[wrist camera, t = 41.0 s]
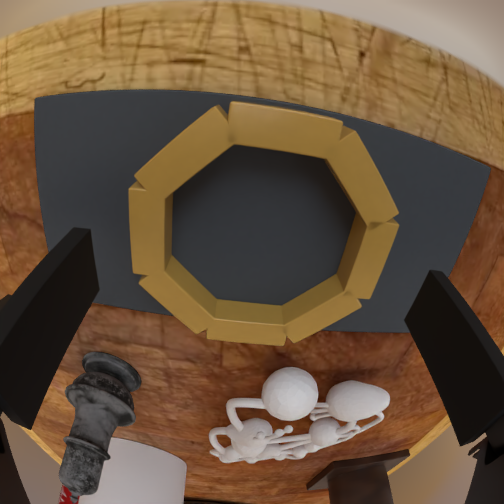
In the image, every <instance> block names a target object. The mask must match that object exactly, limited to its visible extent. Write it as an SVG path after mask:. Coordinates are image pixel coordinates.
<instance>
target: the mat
mask: <svg viewBox="0 0 504 504" xmlns="http://www.w3.org/2000/svg"><path fill="white" fill-rule="evenodd" d="M234 100H235V101H244V102H251V103H259V104H265V105H272V106H278V107H284V108H290V109H295V110H300V111H305V112H310V113H315V114H320V115H324V116H329V117H333V118H335V119H338V120H341V121H342V122H343V126H346V127H348V128H350V129H353V130H355V131H356V132H357V134H358V135H359V137H360V139H361V140H362V142H363V144H364V146H365V147H366V149H367V151H368V153H369V154H370V156H371V158H372V160H373V162H374V164H375V165H376V167H377V169H378V171H379V173H380V175H381V177H382V179H383V181H384V183H385V185H386V187H387V189H388V191H389V193H390V195H391V197H392V199H393V201H394V203H395V205H396V207H397V209H398V211H399V214H398V215H396V216H395V217H393V219H394V220H395V221H396V222H397V223H398V224H399V228H398V231H397V234H396V236H395V239H394V242H393V244H392V247H391V250H390V252H389V255H388V257H387V260H386V262H385V265H384V267H383V270H382V272H381V274H380V277H379V279H378V282H377V284H376V286H375V288H374V291H373V293H372V295H371V298H370V299H359V300H360V302H361V305H362V307H361V308H359V309H358V310H356V311H354V312H353V313H351V314H349V315H347V316H345V317H344V318H342V319H340V320H338V321H336V322H335V323H333V324H331V325H329V326H327V327H325V328H324V329H322V330H325V331H349V332H397V333H410V331H409V329H408V327H407V325H406V324H405V322H404V319H405V317H406V315H407V313H408V311H409V310H410V308H411V306H412V304H413V302H414V300H415V298H416V296H417V294H418V292H419V290H420V288H421V286H422V284H423V282H424V280H425V278H426V276H427V274H428V272H429V270H436V271H442V272H443V273H444V274H445V275H446V277H447V278H448V277H449V275H450V273H451V271H452V269H453V267H454V265H455V262H456V260H457V258H458V256H459V254H460V251H461V249H462V247H463V245H464V242H465V240H466V238H467V235H468V233H469V230H470V228H471V225H472V223H473V220H474V218H475V215H476V212H477V210H478V207H479V204H480V201H481V198H482V196H483V193H484V190H485V186H486V183H487V180H488V177H489V174H490V170H491V168H490V167H488V166H486V165H484V164H482V163H480V162H478V161H476V160H474V159H472V158H469V157H467V156H465V155H462V154H460V153H458V152H455V151H453V150H451V149H448V148H446V147H443V146H441V145H438V144H436V143H433V142H430V141H428V140H425V139H422V138H420V137H417V136H414V135H411V134H408V133H405V132H402V131H399V130H396V129H393V128H390V127H387V126H383V125H380V124H377V123H373V122H370V121H366V120H363V119H359V118H355V117H352V116H348V115H344V114H340V113H336V112H331V111H327V110H323V109H318V108H313V107H309V106H304V105H299V104H293V103H288V102H282V101H276V100H270V99H263V98H256V97H249V96H241V95H232V94H223V93H212V92H199V91H183V90H106V91H90V92H77V93H67V94H58V95H50V96H43V97H38V98H35V107H34V133H35V157H36V171H37V182H38V191H39V199H40V206H41V213H42V219H43V225H44V231H45V237H46V242H47V247H48V251H49V252H50V251H51V250H52V249H53V248H54V247H55V246H56V245H57V243H58V242H59V241H60V240H61V239H62V238H63V237H64V236H65V235H66V234H67V233H68V232H69V231H70V230H71V229H72V228H73V227H78V228H87V229H91V235H92V243H93V251H94V257H95V264H96V270H97V276H98V282H99V287H100V290H99V292H98V294H97V296H96V297H95V299H94V301H93V303H99V304H104V305H109V306H115V307H120V308H126V309H132V310H138V311H144V312H150V313H157V314H164V315H171V316H174V315H173V314H172V313H170V312H169V311H168V310H167V309H166V308H165V307H164V306H163V305H161V304H160V303H159V302H158V301H157V300H156V299H155V298H154V297H153V296H151V295H150V294H149V293H148V292H147V291H146V290H145V289H144V288H143V287H142V286H141V285H139V281H140V278H141V276H142V275H140V274H134V273H133V269H132V256H131V242H130V223H129V188H130V187H131V186H132V185H133V184H134V183H135V182H136V181H137V179H136V178H135V177H134V175H135V174H136V173H137V172H138V171H139V170H140V169H141V168H142V167H143V166H144V165H145V164H146V163H147V162H148V161H149V160H150V159H152V158H153V157H154V156H155V155H156V154H157V153H158V152H159V151H160V150H162V149H163V148H164V147H165V146H166V145H167V144H168V143H169V142H171V141H172V140H173V139H174V138H175V137H176V136H178V135H179V134H180V133H181V132H182V131H184V130H185V129H186V128H187V127H188V126H190V125H191V124H192V123H193V122H194V121H196V120H197V119H198V118H199V117H201V116H202V115H203V114H205V113H206V112H207V111H208V110H210V109H211V108H212V107H214V106H216V105H220V106H221V107H222V108H223V110H224V111H225V112H226V113H227V114H228V113H229V105H230V102H232V101H234ZM355 214H356V211H355V210H354V208H353V206H352V205H351V203H350V201H349V200H348V198H347V196H346V195H345V193H344V191H343V190H342V188H341V186H340V185H339V183H338V182H337V180H336V178H335V177H334V175H333V174H332V172H331V170H330V169H329V167H328V166H327V164H326V163H325V161H324V160H323V159H322V158H317V157H312V156H307V155H301V154H295V153H290V152H283V151H277V150H271V149H264V148H257V147H250V146H242V145H233V146H232V147H230V148H229V149H228V150H226V151H225V152H224V153H222V154H221V155H220V156H218V157H217V158H216V159H214V160H213V161H212V162H210V163H209V164H208V165H207V166H205V167H204V168H203V169H202V170H200V171H199V172H198V173H197V174H195V175H194V176H193V177H192V178H190V179H189V180H188V181H187V182H185V183H184V184H183V185H182V186H180V187H179V188H178V189H177V190H176V191H174V192H173V211H172V256H173V257H174V258H175V259H176V260H177V261H178V262H179V263H180V264H181V265H182V266H183V267H184V268H185V269H186V270H187V271H188V272H189V273H190V274H192V275H193V276H194V277H195V278H196V279H197V280H198V281H199V282H200V283H201V284H202V285H203V286H204V287H205V288H206V289H207V290H208V291H209V292H210V293H211V294H212V295H213V296H214V297H215V298H216V299H222V300H231V301H240V302H249V303H259V304H269V305H280V306H282V305H283V304H285V303H287V302H289V301H291V300H292V299H294V298H296V297H298V296H299V295H301V294H303V293H304V292H306V291H308V290H310V289H311V288H313V287H315V286H316V285H318V284H320V283H322V282H323V281H325V280H327V279H328V278H330V277H332V276H333V275H335V274H336V273H337V270H338V268H339V265H340V262H341V259H342V256H343V253H344V250H345V246H346V243H347V240H348V237H349V234H350V231H351V227H352V224H353V221H354V218H355Z"/></svg>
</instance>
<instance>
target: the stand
mask: <svg viewBox="0 0 504 504" xmlns="http://www.w3.org/2000/svg"><path fill="white" fill-rule="evenodd" d="M409 456H410V453H409V450H403V451H399V452H394V453H389V454H384V455H378V456H372V457H366V458H359V459H352V460H343V461H334V462H332V463H331V464H330V465H329V466H328V467H327V468H326V469H324V470H323V471H322V472H321V473H320V474H319V475H317V476H316V477H315V478H314V479H313V480H311V481H310V482H309V483H308V484H307V485H306V486H307V490H316V489H325V488H328V490H329V498H330V504H394V503H393V499H392V494H391V489H390V485H389V480H388V476H387V472H388V471H389V470H391V469H392V468H393V467H395V466H396V465H398V464H399V463H400V462H402V461H403V460H405V459H406V458H407V457H409Z"/></svg>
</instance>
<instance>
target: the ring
mask: <svg viewBox="0 0 504 504" xmlns="http://www.w3.org/2000/svg"><path fill="white" fill-rule="evenodd" d="M233 145H242V146H250V147H257V148H264V149H271V150H277V151H283V152H290V153H295V154H301V155H307V156H312V157H317V158H322V159H323V160H324V161H325V163H326V164H327V166H328V167H329V169H330V170H331V172H332V174H333V175H334V177H335V178H336V180H337V182H338V183H339V185H340V186H341V188H342V190H343V191H344V193H345V195H346V196H347V198H348V200H349V201H350V203H351V205H352V206H353V208H354V210H355V211H356V214H355V218H354V221H353V224H352V227H351V231H350V234H349V237H348V240H347V243H346V246H345V250H344V253H343V256H342V259H341V262H340V265H339V268H338V270H337V273H336V274H335V275H333V276H332V277H330V278H328V279H327V280H325V281H323V282H322V283H320V284H318V285H316V286H315V287H313V288H311V289H310V290H308V291H306V292H304V293H303V294H301V295H299V296H298V297H296V298H294V299H292V300H291V301H289V302H287V303H285V304H283V305H282V306H280V305H269V304H259V303H249V302H240V301H231V300H222V299H216V298H215V297H214V296H213V295H212V294H211V293H210V292H209V291H208V290H207V289H206V288H205V287H204V286H203V285H202V284H201V283H200V282H199V281H198V280H197V279H196V278H195V277H194V276H193V275H192V274H190V273H189V272H188V271H187V270H186V269H185V268H184V267H183V266H182V265H181V264H180V263H179V262H178V261H177V260H176V259H175V258H174V257H173V256H172V211H173V192H174V191H176V190H177V189H178V188H179V187H180V186H182V185H183V184H184V183H185V182H187V181H188V180H189V179H190V178H192V177H193V176H194V175H195V174H197V173H198V172H199V171H200V170H202V169H203V168H204V167H205V166H207V165H208V164H209V163H210V162H212V161H213V160H214V159H216V158H217V157H218V156H220V155H221V154H222V153H224V152H225V151H226V150H228V149H229V148H230V147H232V146H233ZM134 177H135V178H136V179H137V181H136V182H135V183H134V184H133V185H132V186H131V187H130V188H129V223H130V242H131V256H132V269H133V273H134V274H140V275H142V276H141V278H140V281H139V285H141V286H142V287H143V288H144V289H145V290H146V291H147V292H148V293H149V294H150V295H151V296H153V297H154V298H155V299H156V300H157V301H158V302H159V303H160V304H161V305H163V306H164V307H165V308H166V309H167V310H168V311H169V312H170V313H172V314H173V315H174V316H175V317H176V318H177V319H179V320H180V321H181V322H182V323H183V324H184V325H186V326H187V327H188V328H189V329H190V330H192V331H193V332H194V333H195V334H199V333H200V332H202V331H204V330H206V329H207V333H206V338H207V339H211V340H220V341H230V342H240V343H250V344H262V345H276V346H284V343H285V340H286V337H288V338H289V339H290V340H291V341H292V342H293V343H297V342H299V341H301V340H302V339H304V338H306V337H308V336H310V335H312V334H314V333H316V332H318V331H320V330H322V329H324V328H325V327H327V326H329V325H331V324H333V323H335V322H336V321H338V320H340V319H342V318H344V317H345V316H347V315H349V314H351V313H353V312H354V311H356V310H358V309H359V308H361V307H362V305H361V302H360V300H359V299H370V298H371V295H372V293H373V291H374V288H375V286H376V284H377V282H378V279H379V277H380V274H381V272H382V270H383V267H384V265H385V262H386V260H387V257H388V255H389V252H390V250H391V247H392V244H393V242H394V239H395V236H396V234H397V231H398V228H399V224H398V223H397V222H396V221H395V220H394V219H393V217H395V216H396V215H398V214H399V211H398V209H397V207H396V205H395V203H394V201H393V199H392V197H391V195H390V193H389V191H388V189H387V187H386V185H385V183H384V181H383V179H382V177H381V175H380V173H379V171H378V169H377V167H376V165H375V164H374V162H373V160H372V158H371V156H370V154H369V153H368V151H367V149H366V147H365V146H364V144H363V142H362V140H361V139H360V137H359V135H358V134H357V132H356V131H355V130H353V129H350V128H348V127H346V126H343V122H342V121H341V120H338V119H335V118H333V117H329V116H324V115H320V114H315V113H310V112H305V111H300V110H295V109H290V108H284V107H278V106H272V105H265V104H259V103H251V102H244V101H235V100H234V101H232V102H230V105H229V113H228V114H227V113H226V112H225V111H224V110H223V108H222V107H221V106H220V105H216V106H214V107H212V108H211V109H210V110H208V111H207V112H206V113H205V114H203V115H202V116H201V117H199V118H198V119H197V120H196V121H194V122H193V123H192V124H191V125H190V126H188V127H187V128H186V129H185V130H184V131H182V132H181V133H180V134H179V135H178V136H176V137H175V138H174V139H173V140H172V141H171V142H169V143H168V144H167V145H166V146H165V147H164V148H163V149H162V150H160V151H159V152H158V153H157V154H156V155H155V156H154V157H153V158H152V159H150V160H149V161H148V162H147V163H146V164H145V165H144V166H143V167H142V168H141V169H140V170H139V171H138V172H137V173H136V174H135V175H134Z"/></svg>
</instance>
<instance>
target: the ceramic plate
mask: <svg viewBox="0 0 504 504" xmlns="http://www.w3.org/2000/svg"><path fill="white" fill-rule="evenodd" d="M183 504H222V503H212V502H198V501H183Z"/></svg>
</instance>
